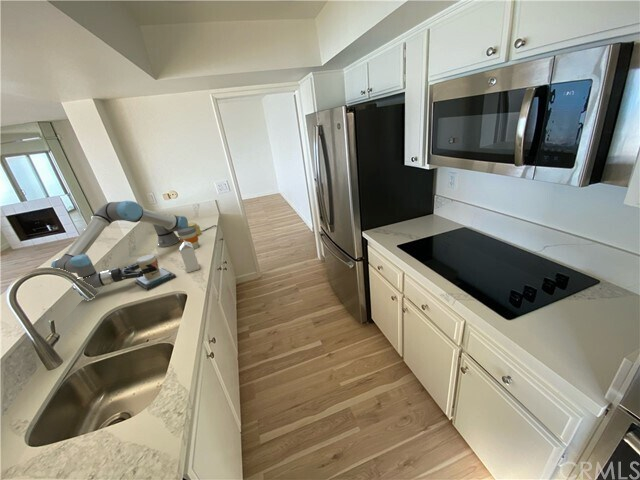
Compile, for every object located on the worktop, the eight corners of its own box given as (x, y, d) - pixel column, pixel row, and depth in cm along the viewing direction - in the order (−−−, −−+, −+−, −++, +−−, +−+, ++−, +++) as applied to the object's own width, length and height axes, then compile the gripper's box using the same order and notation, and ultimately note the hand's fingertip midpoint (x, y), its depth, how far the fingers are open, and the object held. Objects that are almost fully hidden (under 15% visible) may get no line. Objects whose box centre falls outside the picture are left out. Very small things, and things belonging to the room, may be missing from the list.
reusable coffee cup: (184, 252, 191) (177, 233, 185) (182, 247, 201) (175, 229, 195) (202, 247, 196) (196, 228, 190) (199, 242, 206) (193, 224, 200)
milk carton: (187, 272, 161) (177, 244, 153) (187, 268, 167) (177, 240, 159) (199, 269, 164) (190, 241, 156) (199, 264, 170) (190, 237, 162)
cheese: (202, 233, 225) (198, 222, 221) (192, 238, 217) (188, 227, 213) (193, 233, 230) (190, 222, 226) (183, 237, 221) (179, 226, 217)
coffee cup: (153, 280, 152) (145, 261, 147) (140, 279, 154) (132, 261, 149) (165, 271, 160) (158, 254, 155) (152, 271, 162) (145, 254, 157)
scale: (162, 270, 168) (161, 266, 167) (176, 277, 157) (174, 273, 156) (135, 282, 157) (133, 278, 156) (147, 290, 146) (146, 286, 145)
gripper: (119, 273, 159) (159, 262, 167) (111, 291, 139) (157, 278, 147) (114, 262, 156) (155, 251, 164) (105, 279, 136) (152, 266, 144)
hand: (156, 264), depth 156 cm, fingers open, 12 cm apart
